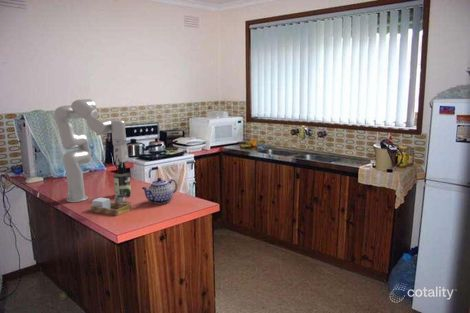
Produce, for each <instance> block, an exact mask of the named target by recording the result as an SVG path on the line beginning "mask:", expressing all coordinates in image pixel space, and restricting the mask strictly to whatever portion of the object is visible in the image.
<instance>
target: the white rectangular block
mask: <svg viewBox="0 0 470 313" xmlns="http://www.w3.org/2000/svg"><path fill="white" fill-rule="evenodd" d="M91 202H92V203H91V204H92V206H96V207H102V208H109V209H112V207H111V204H110V202H111V199H110V198H108V197H107V198H106V197H98V198H94V199H93V200H91Z"/></svg>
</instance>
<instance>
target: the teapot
mask: <svg viewBox="0 0 470 313" xmlns="http://www.w3.org/2000/svg"><path fill="white" fill-rule="evenodd" d="M172 182H173V183H174V189H173V186H172ZM141 189H142V190H143V191H144V193H145V194H144V195H145V198H146V200H147V201H149V202H153V203H154V204H158V205H159V204H160V205H161V204H162V203H163V204H167V203H169V202H170V201H171V200H172V198H173V196H174V194H175V193H176V192H177V189H178V182H177V181H176V180H175V179H173V178H171V179H169V181H168V180H166V179H162V177H157V179H156V180H153V181H151V184H150V185H149V187H148V188H147V187H146V186H143V187H141ZM166 202H167V203H166Z"/></svg>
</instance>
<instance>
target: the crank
mask: <svg viewBox="0 0 470 313" xmlns="http://www.w3.org/2000/svg"><path fill="white" fill-rule="evenodd" d="M131 196H132V194H131V195H130V189H129V188H128V189H126V195H122V194H118V195H117V197H125V199H126V198H130V197H131Z"/></svg>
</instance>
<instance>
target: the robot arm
mask: <svg viewBox="0 0 470 313" xmlns="http://www.w3.org/2000/svg"><path fill="white" fill-rule="evenodd" d="M53 114H54V115H53V116H54V121H55V124H56V126H57V128H58V132H59V137H60V142H61V144H62V148H64V149H65V150H69V151H67V152H66V153H64V154H63V156H62V162H63V165H64V169H65V174H66V182H67V192H66V193H65V196H66V197H67V198H66V201H67V203H79V202H84V201H86V200H88V198H89V196H88V195H86V192H85V184H84V174H83V173H84V172H83V170H82V168H81V167H80V166H81V165H84V164H88V163H90V161H92V152H91V149H90V144H89V140H88V137H87V136H86V134H85V133H83V132H75V128H74V126H73V124H72V122H70V121H69V120H77V119H84V120H85V122H86V125H87V127H88V128H89V129H90V130H91V131H93V132H94V133H96V134H99V135H104V134H110V133H111V138H112V139H111V140H112V146H113V160H114V163H115V165H116V166H117V174H124V173H127V166H126V162H127V161H128V160H129V151H128V146H127V145H128V144H127V134H126V122H125V121H124V120H122V119H118V120H117V119H103V120H101V119H100V120H99V119H98V116H99V112H98V109H97V104H96V102H95V101H94V100H92V99H90V98H89V99H83V98H82V99H76V100H73V101H72V103H71V105H61V106H59V107H57V108H56V109H55V110H54V113H53ZM73 149H75V150H73ZM70 150H71V151H70Z"/></svg>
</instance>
